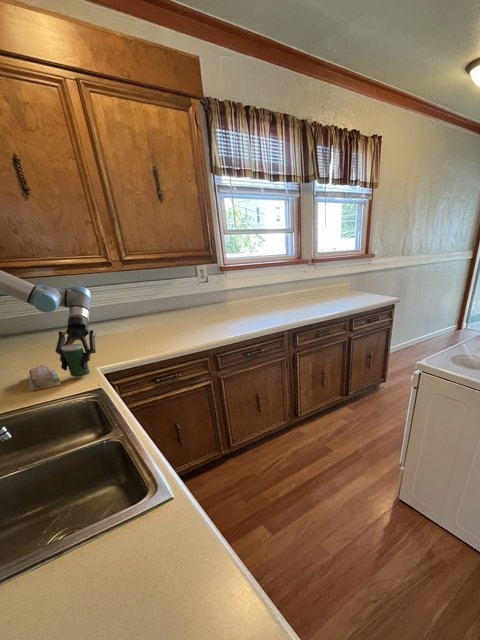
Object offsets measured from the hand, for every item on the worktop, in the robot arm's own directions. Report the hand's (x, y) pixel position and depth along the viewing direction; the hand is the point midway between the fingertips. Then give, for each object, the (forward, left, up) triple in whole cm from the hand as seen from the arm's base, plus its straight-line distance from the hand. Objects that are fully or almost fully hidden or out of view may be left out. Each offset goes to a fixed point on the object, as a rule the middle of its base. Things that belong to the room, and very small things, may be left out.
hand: (74, 368), depth 134 cm
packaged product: (-13, +1, -5) cm, 14 cm away
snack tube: (0, +3, -4) cm, 5 cm away
